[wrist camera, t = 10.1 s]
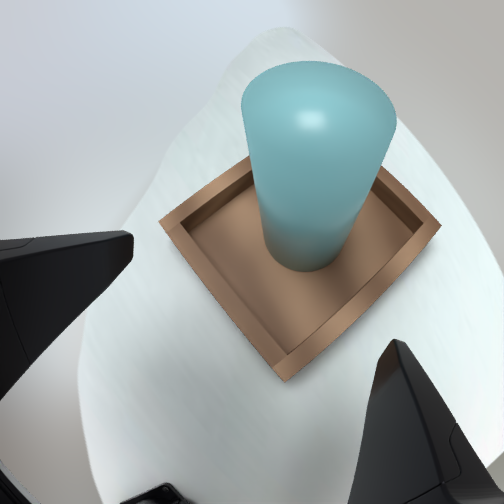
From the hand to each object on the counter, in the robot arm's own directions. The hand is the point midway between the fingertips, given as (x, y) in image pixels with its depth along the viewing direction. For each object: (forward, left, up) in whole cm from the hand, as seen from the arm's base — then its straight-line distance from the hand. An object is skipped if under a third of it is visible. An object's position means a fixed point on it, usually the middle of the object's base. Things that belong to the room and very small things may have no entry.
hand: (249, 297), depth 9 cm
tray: (+7, +3, -12) cm, 15 cm away
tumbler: (+7, +3, -11) cm, 14 cm away
